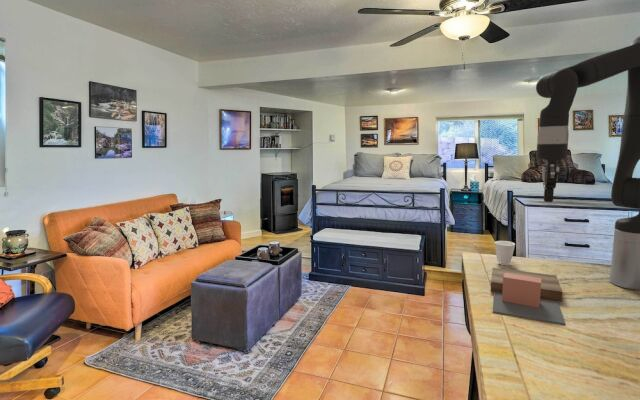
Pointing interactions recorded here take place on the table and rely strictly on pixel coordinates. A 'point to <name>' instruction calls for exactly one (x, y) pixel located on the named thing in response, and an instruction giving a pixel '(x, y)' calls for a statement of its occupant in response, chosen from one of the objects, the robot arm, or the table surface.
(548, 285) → the platform
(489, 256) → the table surface
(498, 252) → the cup
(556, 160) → the robot arm
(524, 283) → the block
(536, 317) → the mat
